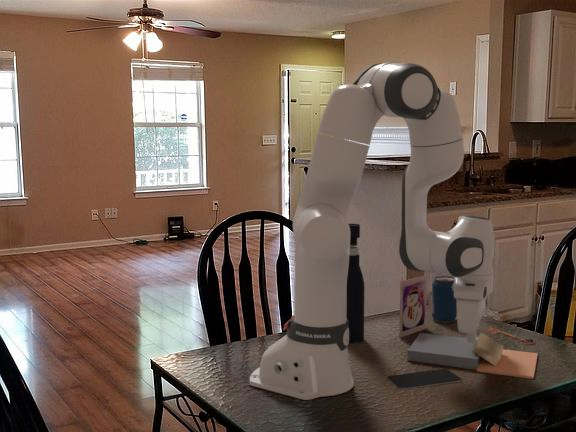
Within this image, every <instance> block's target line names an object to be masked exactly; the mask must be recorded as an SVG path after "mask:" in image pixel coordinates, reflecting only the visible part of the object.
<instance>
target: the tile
mask: <svg viewBox="0 0 576 432" xmlns="http://www.w3.org/2000/svg"><path fill="white" fill-rule="evenodd" d="M476 339H477V340H476V342H475V345H474V348H473V350H472V351H473V352H474V353H476V354H477V355H479V356H481V357H482V358H484V359H485V360H487V361H488V362H490V363H491V364H493V365H495V366H496V365H497V363H498V362H499V360H500V358H501V355H502V351H503V349H504V346H503V345H502V344H501V343H500V342H499V343H498V342H497V341H495V340H494V339H492V338H491V337H489V336H487V335H486V334H485V333H483V332H480V334H479V335H478V337H477V338H476Z"/></svg>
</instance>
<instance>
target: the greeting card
mask: <svg viewBox="0 0 576 432" xmlns="http://www.w3.org/2000/svg"><path fill="white" fill-rule="evenodd" d="M399 282H400V286H399V287H400V290H399V333H398V334H399V337H398V338H399V339H401V338H403V337H406V336H409V335H413V334H414V333H417V332H419V331H423V330H427V329H426V328H427V303H428V302H427V295H428V293H427V292H428V274H425V275H421V276H418V277H417V276H416V277H413V278H408V279H406V280H405V279H404V272H402V274H401V278H400V281H399Z"/></svg>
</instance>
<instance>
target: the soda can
mask: <svg viewBox="0 0 576 432" xmlns="http://www.w3.org/2000/svg"><path fill="white" fill-rule="evenodd" d="M431 284H432V285H431V316H432V318H433V320H434V321H435V322H438V323H442V324H443V323H445V324H447V323H452V322H454V321H455V320H456V319H457V298H454V277H450V276H445V275H439V276H435V277H434V280H433V281H432V283H431Z"/></svg>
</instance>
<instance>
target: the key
mask: <svg viewBox="0 0 576 432" xmlns="http://www.w3.org/2000/svg"><path fill="white" fill-rule="evenodd" d="M483 331H484V332H486V333H489V334H490V335H496V334H502V335H504V336H506V337H508V338H511V339H514V340H517V341H520V342H519V343H520V344H521V345H524V346H532V345H534V344H535V343H536V341H535V340H534V339H530V338H527V339H524V338H522V337H519V336H517V335H514V334H510V333H507V332H505V331H502V330H500V329H497V328H494V327H492V326H489V327H488V329H486V330H483ZM527 342H528V343H527Z"/></svg>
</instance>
